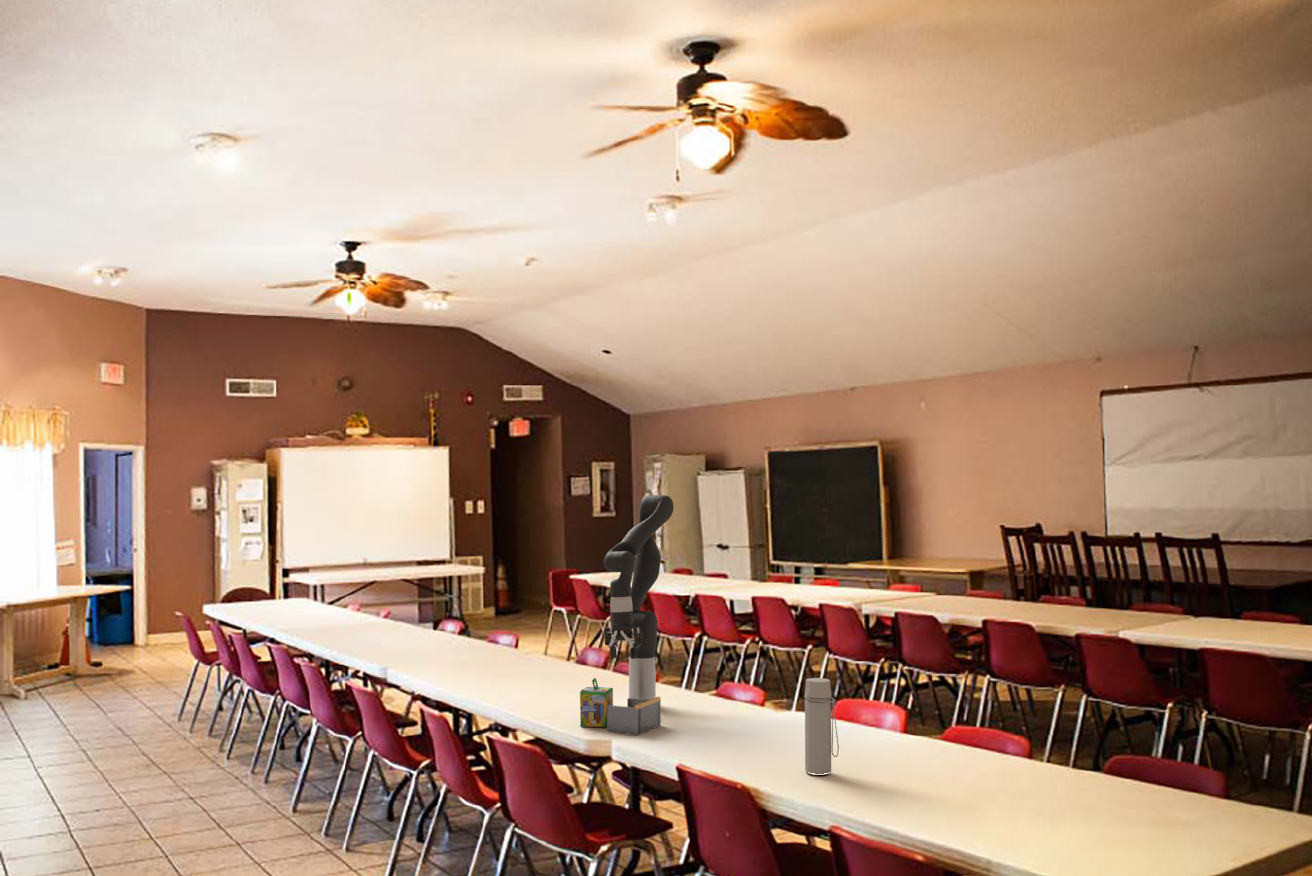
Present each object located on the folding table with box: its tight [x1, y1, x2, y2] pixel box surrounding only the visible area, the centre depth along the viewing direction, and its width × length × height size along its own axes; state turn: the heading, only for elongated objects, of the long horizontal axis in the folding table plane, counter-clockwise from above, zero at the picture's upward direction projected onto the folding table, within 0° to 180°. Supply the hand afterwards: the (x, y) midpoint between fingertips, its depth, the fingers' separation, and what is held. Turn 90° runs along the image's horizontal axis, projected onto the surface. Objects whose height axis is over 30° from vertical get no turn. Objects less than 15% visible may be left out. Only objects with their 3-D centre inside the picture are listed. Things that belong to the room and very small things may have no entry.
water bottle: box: [804, 677, 840, 774], centre depth 308 cm, size 9×8×25 cm
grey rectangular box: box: [606, 696, 662, 736], centre depth 365 cm, size 16×11×9 cm
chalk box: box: [579, 677, 614, 728], centre depth 371 cm, size 9×9×15 cm
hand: (623, 658), depth 388 cm, fingers open, 8 cm apart
